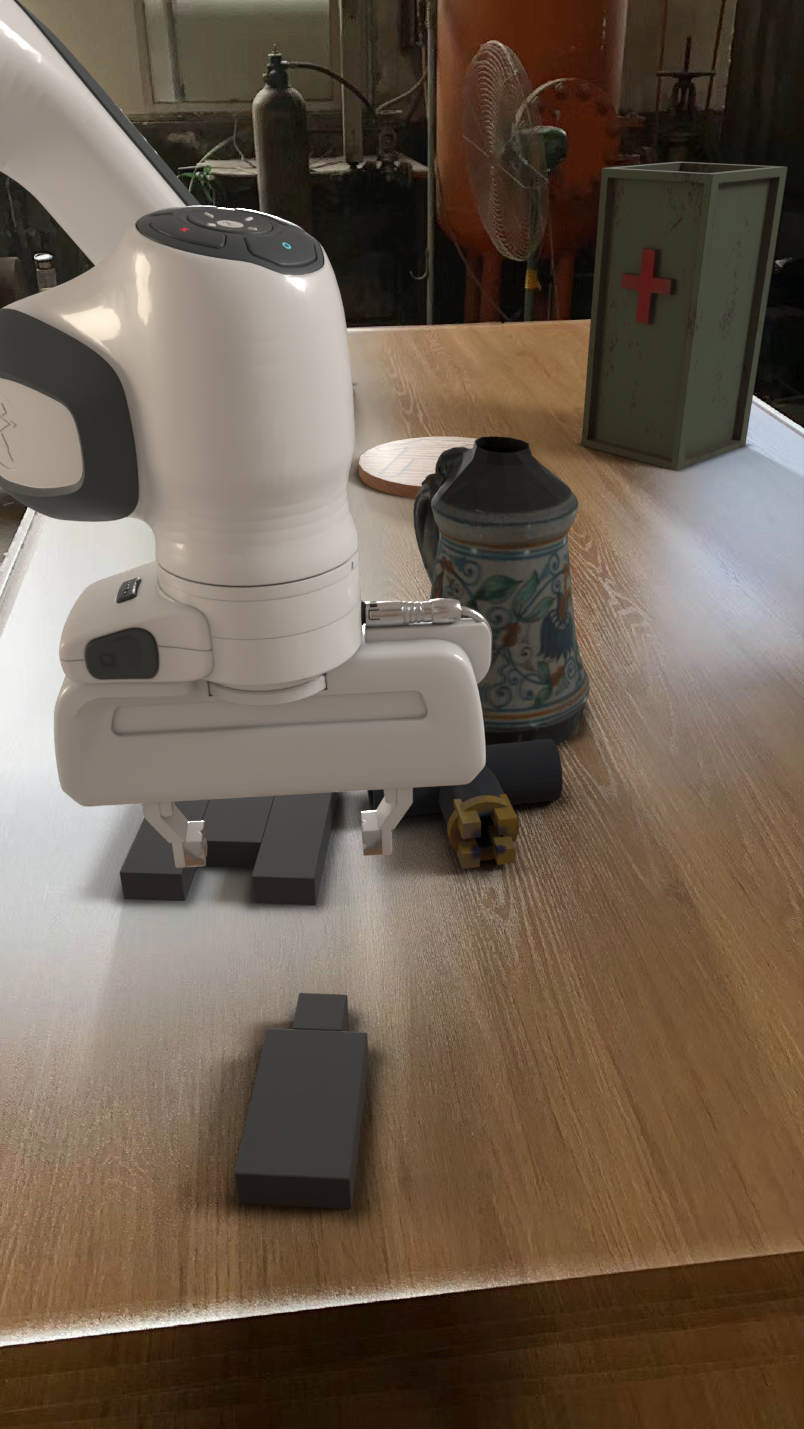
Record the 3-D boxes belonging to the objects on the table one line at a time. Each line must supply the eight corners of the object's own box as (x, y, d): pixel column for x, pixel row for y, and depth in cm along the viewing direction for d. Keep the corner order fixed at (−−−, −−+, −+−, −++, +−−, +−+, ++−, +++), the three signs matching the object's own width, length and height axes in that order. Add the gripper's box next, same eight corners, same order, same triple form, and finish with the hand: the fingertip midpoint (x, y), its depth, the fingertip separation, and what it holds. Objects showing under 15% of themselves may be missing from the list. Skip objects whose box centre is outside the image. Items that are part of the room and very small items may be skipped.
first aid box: (581, 445, 175) (601, 168, 155) (650, 423, 186) (678, 161, 166) (676, 471, 163) (712, 174, 143) (745, 446, 174) (787, 166, 154)
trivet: (342, 495, 155) (342, 482, 154) (377, 445, 176) (376, 433, 175) (518, 504, 151) (518, 491, 150) (531, 451, 172) (532, 439, 171)
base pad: (123, 899, 79) (119, 872, 77) (177, 777, 92) (173, 752, 91) (316, 906, 78) (314, 878, 77) (340, 781, 92) (339, 756, 90)
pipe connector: (590, 802, 79) (387, 824, 77) (585, 861, 82) (388, 884, 80) (546, 726, 89) (365, 743, 87) (543, 780, 92) (367, 799, 90)
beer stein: (545, 778, 92) (564, 491, 79) (349, 722, 100) (338, 455, 87) (612, 694, 104) (637, 434, 92) (432, 651, 112) (433, 407, 100)
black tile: (238, 1204, 57) (233, 1173, 56) (277, 1020, 68) (274, 991, 67) (351, 1210, 57) (350, 1179, 56) (372, 1024, 68) (371, 994, 67)
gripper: (483, 570, 52) (477, 807, 59) (49, 590, 51) (96, 829, 58) (504, 626, 47) (495, 880, 54) (19, 650, 45) (74, 907, 52)
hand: (285, 854), depth 56 cm, fingers open, 8 cm apart
